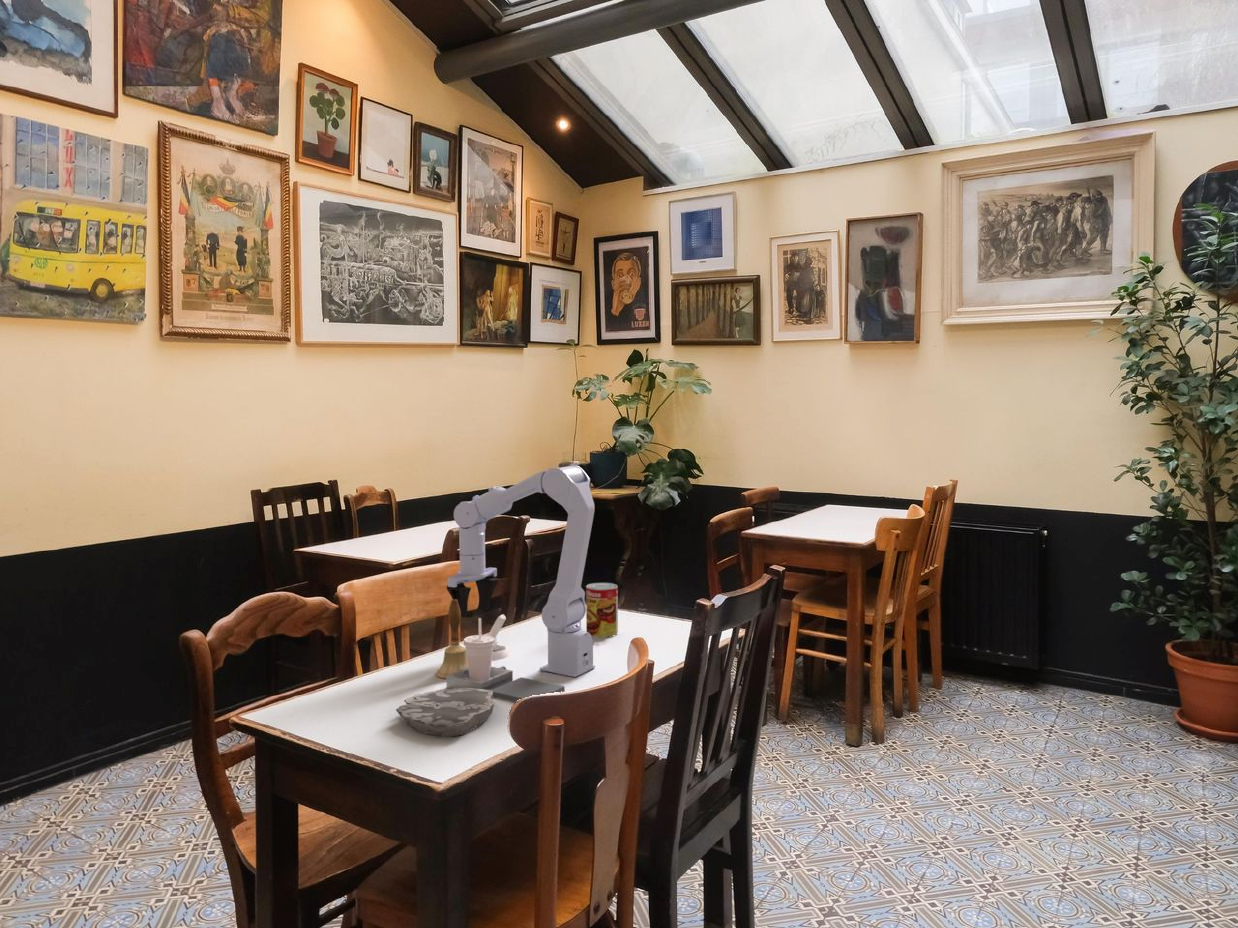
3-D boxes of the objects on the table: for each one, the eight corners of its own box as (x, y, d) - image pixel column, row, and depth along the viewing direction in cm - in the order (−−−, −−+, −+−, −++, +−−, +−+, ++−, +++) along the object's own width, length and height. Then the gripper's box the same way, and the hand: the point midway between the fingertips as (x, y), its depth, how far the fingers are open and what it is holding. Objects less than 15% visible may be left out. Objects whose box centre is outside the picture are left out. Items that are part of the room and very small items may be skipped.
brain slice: (419, 701, 170) (419, 686, 169) (504, 704, 168) (504, 689, 168) (380, 739, 150) (380, 723, 150) (476, 743, 148) (476, 726, 148)
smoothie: (469, 692, 174) (468, 623, 173) (459, 682, 179) (458, 616, 178) (500, 687, 177) (499, 619, 176) (489, 678, 182) (488, 612, 181)
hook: (515, 641, 192) (489, 623, 192) (492, 678, 197) (468, 659, 198) (529, 626, 198) (505, 608, 199) (507, 662, 203) (483, 644, 204)
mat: (564, 691, 174) (564, 686, 174) (534, 705, 166) (534, 700, 166) (521, 681, 180) (521, 677, 180) (489, 695, 172) (489, 690, 172)
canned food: (582, 630, 220) (581, 584, 220) (610, 627, 223) (610, 581, 223) (593, 638, 213) (592, 590, 212) (622, 635, 216) (622, 587, 215)
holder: (521, 678, 182) (521, 666, 182) (482, 695, 172) (482, 683, 171) (486, 671, 187) (486, 659, 187) (446, 687, 177) (446, 675, 176)
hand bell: (428, 673, 186) (426, 600, 185) (459, 665, 192) (458, 593, 191) (451, 682, 180) (450, 606, 179) (483, 673, 186) (482, 599, 185)
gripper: (480, 547, 205) (481, 604, 206) (436, 556, 193) (438, 617, 194) (503, 550, 201) (504, 607, 202) (460, 559, 189) (461, 621, 190)
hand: (473, 612), depth 198 cm, fingers open, 7 cm apart
